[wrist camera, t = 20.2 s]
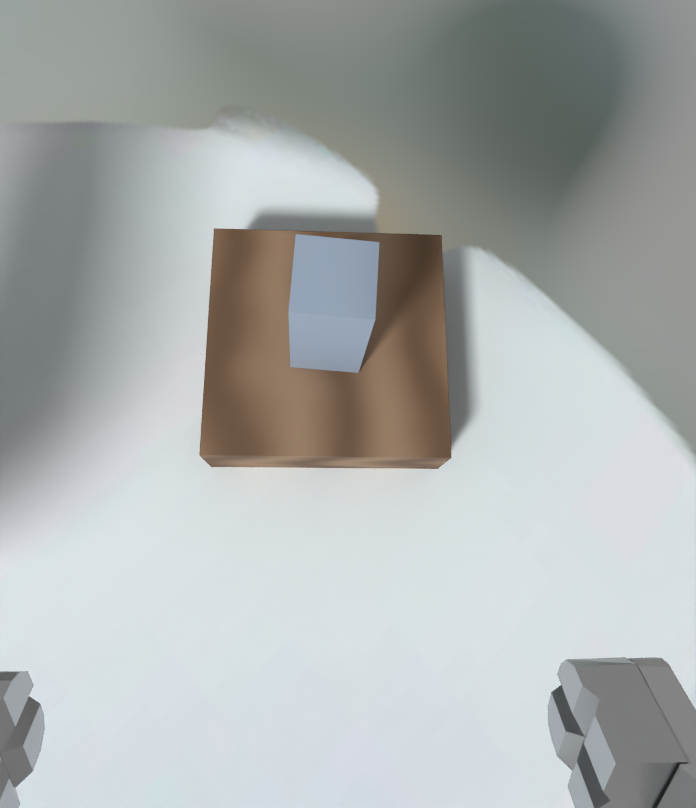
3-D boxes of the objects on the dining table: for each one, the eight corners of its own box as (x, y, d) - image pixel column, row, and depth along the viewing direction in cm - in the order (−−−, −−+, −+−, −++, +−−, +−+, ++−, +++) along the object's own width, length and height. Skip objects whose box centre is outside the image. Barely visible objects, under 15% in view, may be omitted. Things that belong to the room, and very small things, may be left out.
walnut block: (212, 467, 43) (199, 455, 38) (224, 263, 47) (214, 228, 42) (436, 469, 44) (451, 457, 39) (428, 268, 48) (441, 235, 43)
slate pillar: (290, 367, 40) (288, 312, 31) (296, 304, 41) (295, 234, 32) (358, 372, 40) (375, 319, 31) (362, 310, 41) (379, 242, 33)
